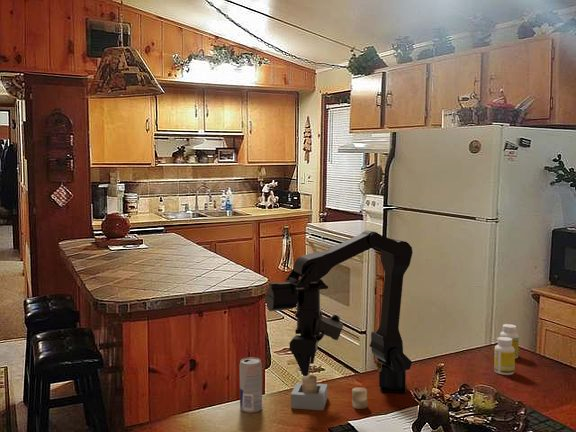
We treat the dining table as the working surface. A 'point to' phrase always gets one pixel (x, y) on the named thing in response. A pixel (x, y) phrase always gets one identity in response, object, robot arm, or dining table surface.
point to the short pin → (359, 398)
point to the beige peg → (309, 384)
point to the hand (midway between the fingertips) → (308, 369)
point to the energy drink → (250, 385)
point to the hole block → (309, 398)
